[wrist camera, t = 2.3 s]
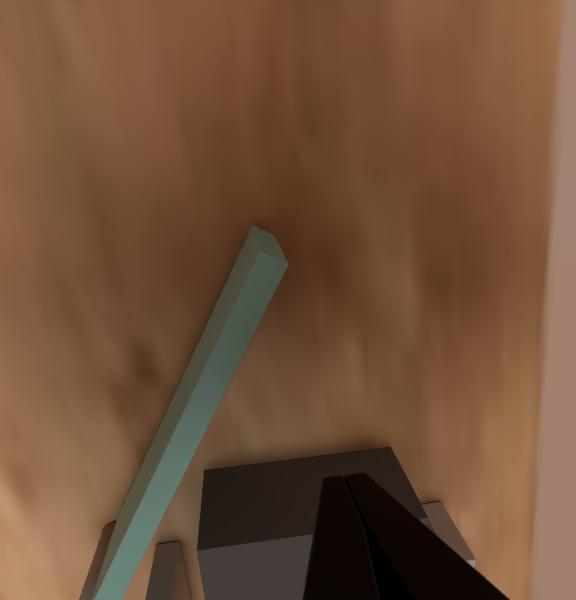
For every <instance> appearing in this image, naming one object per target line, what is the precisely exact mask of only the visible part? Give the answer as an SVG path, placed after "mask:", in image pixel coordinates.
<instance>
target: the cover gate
mask: <svg viewBox="0 0 576 600" xmlns="http://www.w3.org/2000/svg"><path fill="white" fill-rule="evenodd" d="M288 265H289V264H288V262H287V260H286V258H285V256H284V254H283V252H282V250H281V248H280V246H279V244H278V242H277V240H276V238H275V236H274V235H273V234H271V233H269V232H267V231H265V230H263V229H260V228H258V227H256V226H254V225H252V227H251V230H250V232H249V234H248V236H247V238H246V240H245V243H244V245H243V247H242V249H241V251H240V253H239V256H238V258H237V260H236V262H235V264H234V266H233V268H232V271H231V273H230V275H229V277H228V279H227V281H226V284H225V286H224V288H223V290H222V292H221V294H220V297H219V299H218V301H217V303H216V305H215V307H214V310H213V312H212V314H211V316H210V318H209V320H208V323H207V325H206V327H205V329H204V331H203V333H202V335H201V338H200V340H199V342H198V344H197V346H196V348H195V351H194V353H193V355H192V357H191V359H190V361H189V364H188V366H187V368H186V370H185V372H184V374H183V377H182V379H181V381H180V383H179V385H178V387H177V390H176V392H175V394H174V396H173V398H172V400H171V402H170V405H169V407H168V409H167V411H166V413H165V415H164V418H163V420H162V422H161V424H160V426H159V428H158V431H157V433H156V435H155V437H154V439H153V441H152V444H151V446H150V448H149V450H148V452H147V454H146V457H145V459H144V461H143V463H142V465H141V467H140V469H139V472H138V474H137V476H136V478H135V480H134V482H133V485H132V487H131V489H130V491H129V493H128V495H127V498H126V500H125V502H124V504H123V506H122V508H121V511H120V513H119V515H118V517H117V520H116V524H115V527H114V530H113V533H112V536H111V540H110V543H109V546H108V549H107V552H106V556H105V559H104V562H103V565H102V568H101V571H100V575H99V578H98V581H97V584H96V587H95V591H94V594H93V597H92V600H122V598H123V596H124V594H125V592H126V590H127V588H128V586H129V584H130V582H131V580H132V578H133V576H134V574H135V572H136V570H137V568H138V566H139V564H140V562H141V560H142V558H143V556H144V554H145V552H146V550H147V548H148V546H149V544H150V542H151V540H152V538H153V536H154V534H155V532H156V530H157V528H158V526H159V524H160V522H161V520H162V518H163V516H164V514H165V512H166V510H167V508H168V506H169V504H170V502H171V500H172V498H173V496H174V494H175V492H176V490H177V488H178V486H179V484H180V482H181V480H182V478H183V476H184V474H185V472H186V470H187V468H188V466H189V464H190V462H191V460H192V458H193V456H194V454H195V452H196V450H197V448H198V446H199V444H200V442H201V440H202V438H203V436H204V434H205V432H206V430H207V428H208V425H209V423H210V421H211V419H212V417H213V415H214V413H215V411H216V409H217V407H218V405H219V403H220V401H221V399H222V397H223V395H224V393H225V391H226V389H227V387H228V385H229V383H230V381H231V379H232V377H233V375H234V373H235V371H236V369H237V367H238V365H239V363H240V361H241V359H242V357H243V355H244V353H245V351H246V349H247V347H248V345H249V343H250V341H251V339H252V337H253V335H254V333H255V331H256V329H257V327H258V325H259V323H260V321H261V319H262V317H263V315H264V313H265V311H266V309H267V307H268V305H269V303H270V301H271V299H272V297H273V295H274V293H275V291H276V289H277V287H278V285H279V283H280V281H281V279H282V277H283V275H284V273H285V271H286V269H287V267H288Z"/></svg>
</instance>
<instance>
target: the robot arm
mask: <svg viewBox="0 0 576 600" xmlns="http://www.w3.org/2000/svg"><path fill="white" fill-rule="evenodd" d="M302 600H510V599H509V598H508V597H506V596H505V595H504V594H503V593H502V592H501V591H500V590H498V589H497V588H496V587H495V586H494V585H493V584H492V583H491V582H489V581H488V580H487V579H486V578H485V577H484V576H483V575H481V574H480V573H479V572H478V571H477V570H476V569H475V568H474V567H472V566H471V565H470V564H469V563H468V562H467V561H466V560H464V559H463V558H462V557H461V556H460V555H459V554H458V553H457V552H455V551H454V550H453V549H452V548H451V547H450V546H449V545H448V544H446V543H445V542H444V541H443V540H442V539H441V538H440V537H438V536H437V535H436V534H435V533H434V532H433V531H432V530H431V529H429V528H428V527H427V526H426V525H425V524H424V523H423V522H421V521H420V520H419V519H418V518H417V517H416V516H415V515H414V514H412V513H411V512H410V511H409V510H408V509H407V508H406V507H404V506H403V505H402V504H401V503H400V502H399V501H398V500H397V499H395V498H394V497H393V496H392V495H391V494H390V493H389V492H387V491H386V490H385V489H384V488H383V487H382V486H381V485H380V484H378V483H377V482H376V481H375V480H374V479H373V478H372V477H371V476H369V475H368V474H367V473H365V472H362V471H361V472H354V473H347V474H345V475H344V477H343V476H342V475H333V476H326V477H323V479H322V482H321V488H320V494H319V500H318V506H317V512H316V518H315V525H314V531H313V537H312V543H311V549H310V555H309V561H308V567H307V573H306V579H305V585H304V591H303V597H302Z"/></svg>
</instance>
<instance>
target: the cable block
mask: <svg viewBox="0 0 576 600" xmlns="http://www.w3.org/2000/svg"><path fill="white" fill-rule="evenodd" d="M361 471H362V472H365V473H367V474H368V475H369V476H371V477H372V478H373V479H374V480H375V481H376V482H377V483H378V484H380V485H381V486H382V487H383V488H384V489H385V490H386V491H387V492H389V493H390V494H391V495H392V496H393V497H394V498H395V499H397V500H398V501H399V502H400V503H401V504H402V505H403V506H404V507H406V508H407V509H408V510H409V511H410V512H411V513H412V514H414V515H415V516H416V517H417V518H418V519H419V520H420V521H421V522H423V523H424V524H425V525H426V526H427V527H428V516H427V514H426V512H425V511H424V509H423V507H422V505H421V503H420V501H419V499H418V497H417V495H416V494H415V492H414V490H413V488H412V486H411V484H410V482H409V480H408V478H407V477H406V475H405V473H404V471H403V469H402V467H401V465H400V463H399V462H398V460H397V458H396V456H395V454H394V452H393V450H392V448H391V447H387V448H379V449H371V450H363V451H355V452H347V453H339V454H331V455H323V456H315V457H307V458H299V459H291V460H283V461H275V462H267V463H259V464H252V465H244V466H236V467H228V468H220V469H212V470H204V479H203V490H202V501H201V512H200V523H199V534H198V545H197V554H198V560H199V566H200V572H201V578H202V584H203V590H204V596H205V600H302V597H303V591H304V585H305V579H306V573H307V567H308V561H309V555H310V549H311V543H312V537H313V531H314V525H315V518H316V512H317V506H318V500H319V494H320V488H321V482H322V479H323V477H326V476H333V475H342V476H343V477H344V475H345V474H347V473H354V472H361Z"/></svg>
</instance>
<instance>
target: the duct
mask: <svg viewBox="0 0 576 600" xmlns="http://www.w3.org/2000/svg"><path fill="white" fill-rule="evenodd" d="M422 507H423V509H424V511H425V512H426V514H427V516H428V528H429V529H431V530H432V531H433V532H434V533H435V534H436V535H437V536H438V537H440V538H441V539H442V540H443V541H444V542H445V543H446V544H448V545H449V546H450V547H451V548H452V549H453V550H454V551H455V552H457V553H458V554H459V555H460V556H461V557H462V558H463V559H464V560H466V561H467V562H468V563H469V564H470V565H471V566H472V567H474V568H475V560H476V559H475V558H474V556H473V554H472V553H471V551H470V549H469V548H468V546H467V544H466V542H465V541H464V539H463V537H462V536H461V534H460V532H459V531H458V529H457V527H456V526H455V524H454V522H453V521H452V519H451V517H450V516H449V514H448V512H447V511H446V509H445V507H444V506H443V504H442V502H435V503H428V504H422ZM115 524H116V522H112V523H110V524H108V525H107V526H105V527H104V529H103V531H102V534H101V537H100V539H99V542H98V545H97V548H96V551H95V554H94V557H93V560H92V563H91V566H90V569H89V572H88V575H87V577H86V580H85V583H84V586H83V589H82V592H81V595H80V598H79V600H92V597H93V594H94V591H95V587H96V584H97V581H98V578H99V575H100V571H101V568H102V565H103V562H104V559H105V556H106V552H107V549H108V546H109V543H110V540H111V536H112V533H113V530H114V527H115ZM146 600H191V597H190V592H189V587H188V582H187V577H186V572H185V567H184V562H183V557H182V552H181V547H180V542H179V541H178V542H172V543H165V544H158V545H156V548H155V553H154V559H153V564H152V569H151V574H150V579H149V584H148V590H147V595H146Z"/></svg>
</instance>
